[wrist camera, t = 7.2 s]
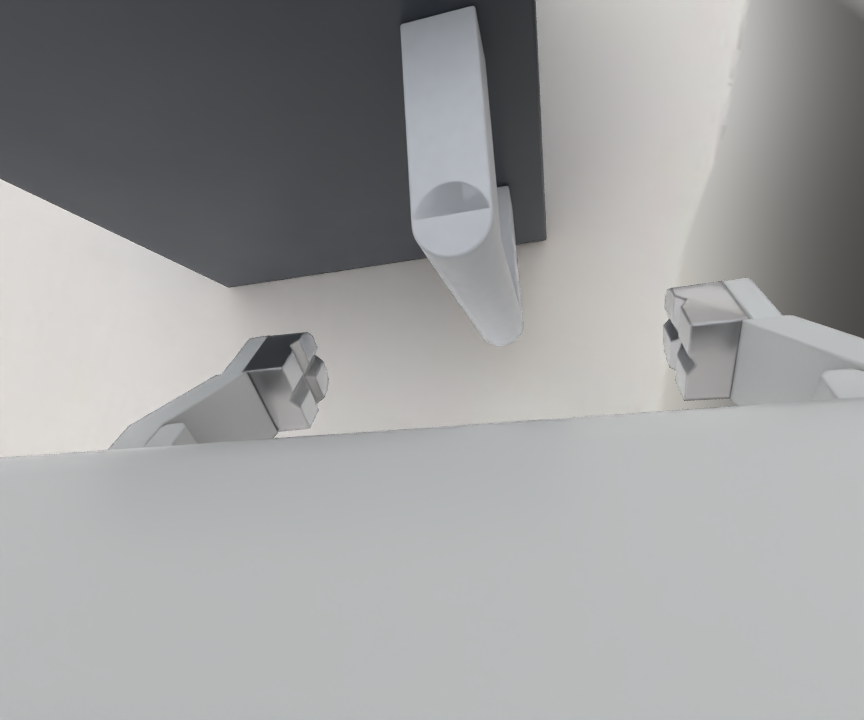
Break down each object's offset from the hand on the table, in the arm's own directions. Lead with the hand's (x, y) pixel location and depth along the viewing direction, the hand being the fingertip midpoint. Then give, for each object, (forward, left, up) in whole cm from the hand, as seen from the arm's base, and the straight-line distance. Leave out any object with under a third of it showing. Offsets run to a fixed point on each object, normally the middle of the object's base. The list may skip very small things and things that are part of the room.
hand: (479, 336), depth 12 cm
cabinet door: (0, +7, -10) cm, 13 cm away
